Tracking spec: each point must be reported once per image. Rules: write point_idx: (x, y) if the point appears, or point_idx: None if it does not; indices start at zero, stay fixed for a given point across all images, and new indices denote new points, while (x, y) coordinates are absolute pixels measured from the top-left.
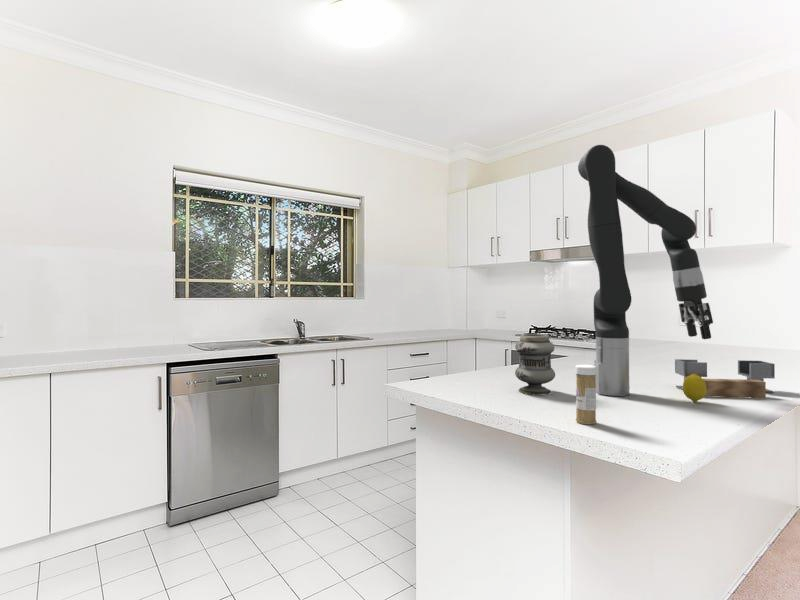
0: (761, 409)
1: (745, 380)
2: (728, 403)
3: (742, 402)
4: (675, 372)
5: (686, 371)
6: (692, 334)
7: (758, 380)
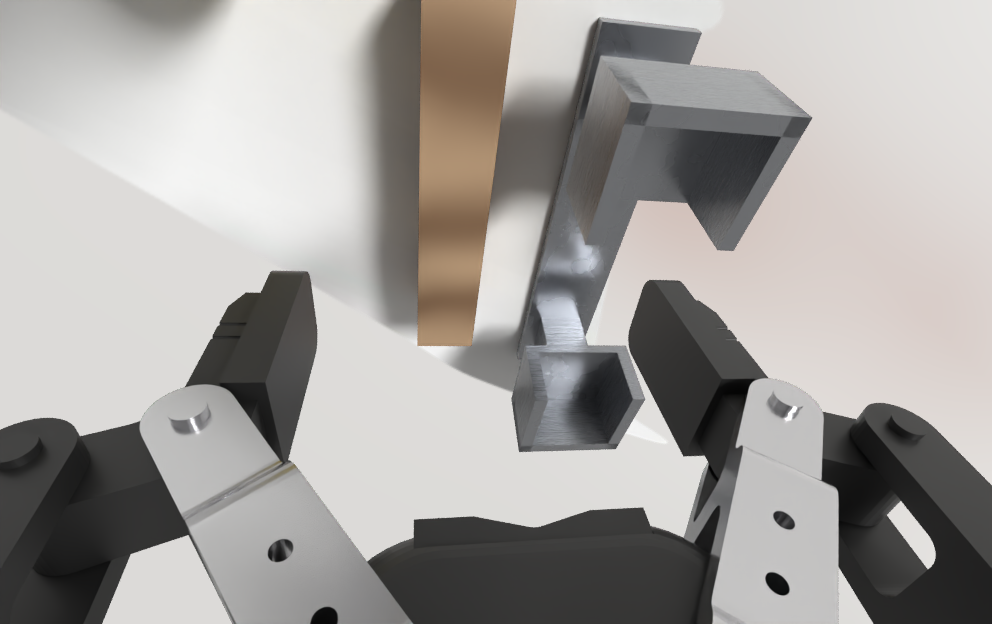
0: (153, 172)
1: (451, 300)
2: (251, 93)
3: (304, 174)
4: (751, 71)
5: (607, 84)
6: (645, 317)
7: (455, 340)
